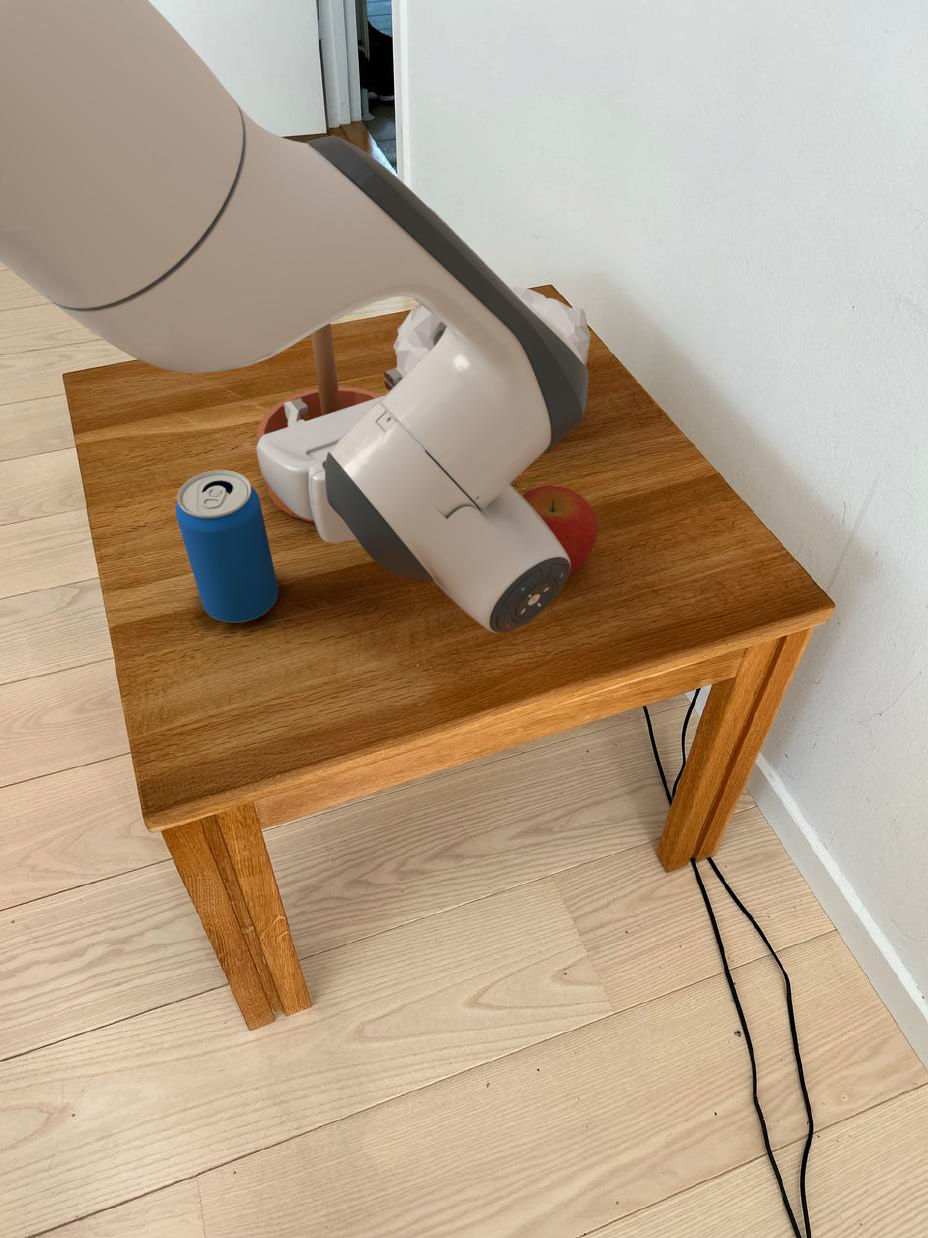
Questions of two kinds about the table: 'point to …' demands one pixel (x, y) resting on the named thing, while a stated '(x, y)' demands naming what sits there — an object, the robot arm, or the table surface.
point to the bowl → (427, 329)
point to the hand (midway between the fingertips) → (343, 391)
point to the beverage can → (227, 545)
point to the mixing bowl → (278, 419)
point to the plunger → (325, 370)
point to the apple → (566, 520)
